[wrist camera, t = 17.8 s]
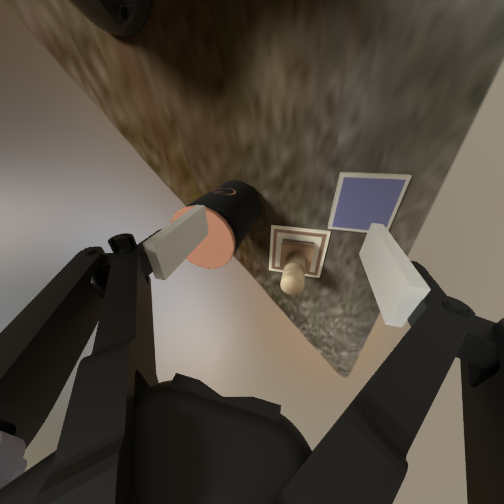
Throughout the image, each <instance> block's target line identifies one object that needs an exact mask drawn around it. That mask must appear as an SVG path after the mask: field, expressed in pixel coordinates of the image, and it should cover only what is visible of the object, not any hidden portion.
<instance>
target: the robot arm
mask: <svg viewBox="0 0 504 504" xmlns="http://www.w3.org/2000/svg"><path fill="white" fill-rule="evenodd" d="M69 1H70V2H71V3H72V4H73V5H74V6H75V7H76V8H77V9H78V10H79V11H80V12H81V13H82V14H83V15H84V16H86V17H87V18H88V19H89V20H90V21H91V22H92V23H94V24H95V25H96V26H98V27H99V28H101V29H103V30H105V31H107V32H109V33H111V34H113V35H116V36H120V37H128V36H131V35H133V34H135V33H136V32H138V31H139V30H140V28H141V27H142V26H143V24H144V23H145V21H146V19H147V16H148V14H149V11H150V7H151V2H152V0H69ZM208 234H209V232H208V225H207V218H206V210H205V206H204V205H196V206H194V207H193V208H191V209H190V210H189V211H187V212H186V213H184V214H183V215H182V216H180V217H179V218H177V219H176V220H174V221H173V222H172V223H170V224H169V225H167V226H166V227H165V228H163V229H160V230H158V231H156V232H155V233H153V235H151V236H149V238H146V239H145V240H144V241H142V242H141V243H139V244H138V245H137V244H136V242H135V239H134V237H133V235H132V234H127V233H126V234H119V235H116V236H114V237H112V238H110V239H109V240H108V243H109V244H110V247H111V249H112V251H113V253H105V252H104V250H103V249H102V247H89V248H85V249H84V250H82V251H80V252H79V253H78V254H76V255H75V257H74V258H73V259H72V260H71V261H70V262H69V263H68V264H67V265H66V266H65V267H64V268H63V269H62V270H61V271H60V272H59V273H58V274H57V275H56V276H55V277H54V278H53V279H52V280H51V282H49V283H48V285H46V287H45V288H44V289H43V290H42V291H41V292H40V293H39V294H38V295H37V296H36V297H35V298H34V299H33V300H32V301H31V302H30V303H29V304H28V305H27V306H26V307H25V308H24V309H23V310H22V312H20V314H19V315H17V317H16V318H15V319H14V320H13V321H12V322H11V323H10V324H9V325H8V326H7V327H6V328H5V329H4V330H3V331H2V332H1V333H0V504H392V503H393V501H394V499H395V497H396V495H397V493H398V491H399V489H400V486H401V484H402V482H403V480H404V478H405V475H406V472H407V469H408V463H407V461H406V455H407V453H408V450H409V449H410V447H411V445H412V443H413V441H414V438H415V437H416V434H417V433H418V431H419V429H420V427H421V425H422V423H423V421H424V419H425V416H426V415H427V413H428V410H429V409H430V407H431V405H432V403H433V401H434V399H435V397H436V395H437V393H438V391H439V389H440V387H441V384H442V383H443V381H444V379H445V377H446V375H447V373H448V371H449V369H450V367H451V365H452V363H453V360H454V359H455V357H457V358H460V360H461V381H462V401H463V421H464V440H465V460H466V480H467V500H468V504H504V318H503V319H501V320H500V321H499V322H498V323H495V322H492V321H489V320H486V319H483V318H480V317H478V316H475V313H474V312H473V310H472V309H471V308H470V307H469V306H467V305H466V304H464V303H463V302H461V301H459V300H457V299H455V298H452V297H449V296H447V295H446V294H445V293H444V292H443V290H442V289H441V288H440V287H439V285H438V284H437V283H436V282H435V280H433V278H432V277H431V275H429V273H428V271H427V270H426V269H425V268H424V267H423V266H422V265H420V264H419V263H417V262H415V261H410V260H409V259H408V257H407V256H406V255H405V253H404V252H403V251H402V249H401V248H400V246H399V245H398V244H397V242H396V241H395V240H394V238H393V237H392V235H391V234H390V233H389V231H388V230H387V229H386V227H385V226H384V225H383V224H377V223H371V225H370V228H369V230H368V233H367V235H366V238H365V240H364V243H363V245H362V248H361V250H360V253H359V256H360V258H361V261H362V264H363V266H364V269H365V272H366V274H367V277H368V280H369V282H370V285H371V288H372V290H373V293H374V296H375V298H376V301H377V304H378V306H379V309H380V312H381V314H382V317H383V320H384V322H385V324H386V325H391V326H396V327H401V328H402V327H403V326H404V324H405V323H406V322H407V320H408V322H409V324H410V326H411V328H410V330H409V331H408V332H407V333H406V334H405V336H404V337H403V338H402V339H401V341H400V342H399V343H398V344H397V346H396V347H395V348H394V350H393V351H392V352H391V353H390V355H389V356H388V357H387V358H386V360H385V361H384V362H383V363H382V365H381V366H380V367H379V368H378V370H377V371H376V372H375V374H374V375H373V376H372V377H371V378H370V380H369V381H368V382H367V383H366V385H365V386H364V387H363V389H362V390H361V391H360V392H359V394H358V395H357V396H356V397H355V399H354V400H353V401H352V402H351V404H350V405H349V406H348V407H347V409H346V410H345V411H344V413H343V414H342V415H341V416H340V417H339V419H338V420H337V421H336V423H335V424H334V425H333V426H332V428H331V429H330V430H329V431H328V432H327V434H326V435H325V436H324V438H323V439H322V440H321V441H320V443H319V444H318V445H317V446H316V448H315V449H314V450H313V451H311V449H310V447H309V445H308V443H307V442H306V440H305V438H304V437H303V436H302V434H301V433H300V432H299V430H298V429H297V428H296V427H295V426H294V425H293V423H291V422H290V421H289V420H288V419H287V418H286V417H285V416H283V415H282V414H280V410H281V405H278V404H274V403H271V402H268V401H265V400H262V399H258V398H255V397H223V396H221V395H219V394H218V393H216V392H215V391H214V390H212V389H211V388H210V387H208V386H207V385H205V384H204V383H203V382H201V381H200V380H197V379H194V378H191V377H188V376H184V375H181V374H178V373H176V374H175V376H174V378H173V380H172V381H165V382H161V383H158V379H157V375H156V364H155V347H154V331H153V315H152V314H153V313H152V296H151V279H150V277H149V274H151V273H152V272H153V273H154V276H155V278H157V279H162V280H166V279H167V278H168V277H169V276H170V275H171V274H172V273H173V271H175V269H176V268H177V267H178V266H179V265H180V264H181V263H182V262H183V261H184V260H185V259H186V258H187V257H188V255H189V254H190V253H191V252H192V251H193V250H194V249H195V248H196V247H197V246H198V245H199V244H200V243H201V241H202V240H203V239H204V238H205V237H206V236H207V235H208ZM91 281H92V283H91ZM98 321H99V323H98ZM97 323H98V328H97V332H96V337H95V342H94V346H93V351H92V354H91V355H90V356H87V357H84V358H83V359H82V360H81V361H80V364H79V366H78V369H77V373H76V377H75V381H74V385H73V389H72V393H71V397H70V400H69V404H68V408H67V412H66V416H65V420H64V423H63V427H62V431H61V435H60V439H59V443H58V447H57V450H56V451H55V452H53V453H52V454H50V455H49V456H47V457H46V458H45V459H43V460H41V461H40V462H39V463H37V464H36V465H34V466H33V467H31V468H30V469H29V470H27V471H26V472H24V471H25V469H26V466H27V460H26V459H24V458H23V456H24V453H25V449H26V448H27V447H28V445H29V444H30V443H31V441H32V440H33V438H34V437H35V435H36V434H37V432H38V431H39V429H40V428H41V426H42V425H43V423H44V422H45V420H46V418H47V417H48V415H49V413H50V411H51V410H52V408H53V406H54V404H55V402H56V401H57V399H58V397H59V395H60V393H61V391H62V389H63V387H64V386H65V384H66V382H67V380H68V378H69V376H70V374H71V372H72V370H73V368H74V367H75V365H76V363H77V361H78V359H79V357H80V355H81V353H82V351H83V350H84V348H85V346H86V344H87V342H88V340H89V338H90V336H91V334H92V333H93V331H94V328H95V327H96V325H97Z"/></svg>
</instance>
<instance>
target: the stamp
mask: <svg viewBox="0 0 504 504" xmlns="http://www.w3.org/2000/svg"><path fill="white" fill-rule="evenodd" d="M313 252H314V242H308V241H300V240H291V239H283V241H282V245H281V256H280V266H279V270H283V275H282V279H281V289H282V290H283V291H284V292H285V293H287V294H290V295H297V294H300V293H301V292H302V291H303V290H304V280H305V274H309V272H310V267H311V262H312V257H313Z"/></svg>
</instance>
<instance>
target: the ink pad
mask: <svg viewBox="0 0 504 504" xmlns="http://www.w3.org/2000/svg"><path fill="white" fill-rule="evenodd" d="M411 177H412V175H410V174H390V173H364V172H340V174H339V178H338V182H337V187H336V191H335V195H334V200H333V204H332V208H331V213H330V217H329V222H328V226H327V227H328V229H335V230H345V231H354V232H364V233H368V230H369V228H370V225H371V223H377V224H383V225H384V226H385V227H386V229H387V230H389V228H390V226H391V223H392V221H393V219H394V216H395V214H396V212H397V209H398V207H399V205H400V202H401V200H402V198H403V195H404V193H405V191H406V188H407V186H408V184H409V181H410V179H411Z"/></svg>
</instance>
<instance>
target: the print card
mask: <svg viewBox="0 0 504 504" xmlns="http://www.w3.org/2000/svg"><path fill="white" fill-rule="evenodd" d="M330 233H331V231H326V230H317V229H307V228H298V227H288V226H279V225H271V240H270V258H269V270H272V271H279V272H283V270H279V266H280V256H281V245H282V241H283V239H291V240H300V241H308V242H314V252H313V257H312V262H311V267H310V272H309V274H305V276H310V277H316V278H320V274H321V270H322V266H323V262H324V258H325V254H326V250H327V246H328V242H329V237H330Z"/></svg>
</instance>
